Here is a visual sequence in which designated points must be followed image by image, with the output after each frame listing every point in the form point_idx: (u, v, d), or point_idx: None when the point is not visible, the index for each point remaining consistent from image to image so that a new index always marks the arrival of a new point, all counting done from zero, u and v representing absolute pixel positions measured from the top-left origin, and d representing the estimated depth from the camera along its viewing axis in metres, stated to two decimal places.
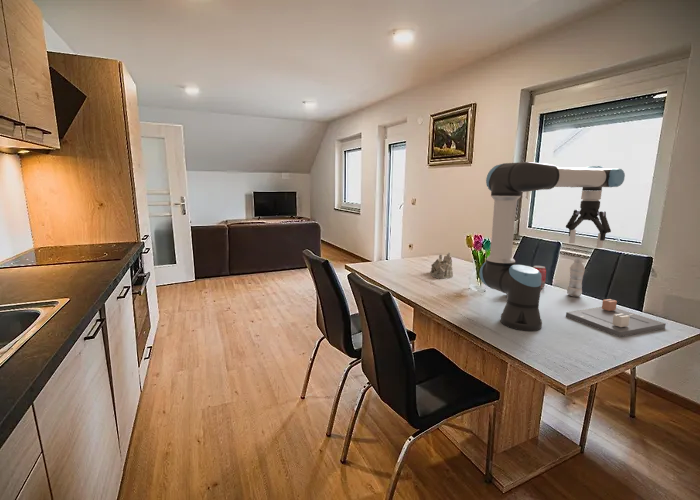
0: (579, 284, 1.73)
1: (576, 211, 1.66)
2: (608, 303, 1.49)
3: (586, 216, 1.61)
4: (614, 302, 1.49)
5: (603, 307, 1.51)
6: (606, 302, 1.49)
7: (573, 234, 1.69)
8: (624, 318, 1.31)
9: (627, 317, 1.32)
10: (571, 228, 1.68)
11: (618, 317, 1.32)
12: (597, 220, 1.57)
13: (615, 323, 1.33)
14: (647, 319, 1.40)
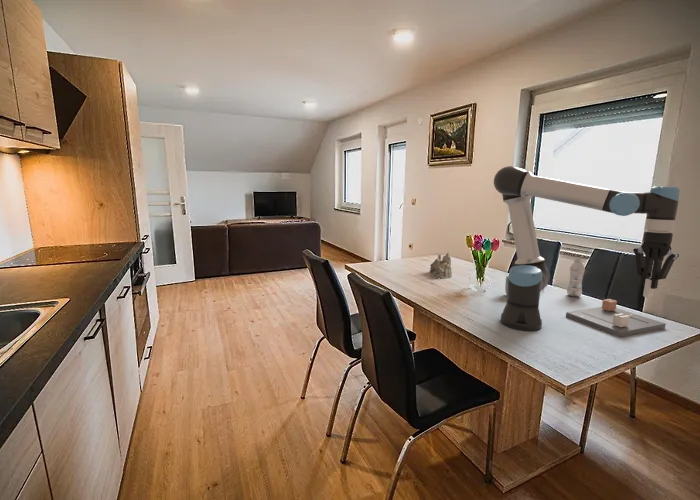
0: (579, 284, 1.73)
1: (637, 249, 1.25)
2: (608, 303, 1.49)
3: (652, 252, 1.21)
4: (614, 302, 1.49)
5: (603, 307, 1.51)
6: (606, 302, 1.49)
7: None
8: (624, 318, 1.31)
9: (627, 317, 1.32)
10: (646, 275, 1.23)
11: (618, 317, 1.32)
12: (660, 261, 1.20)
13: (615, 323, 1.33)
14: (647, 319, 1.40)
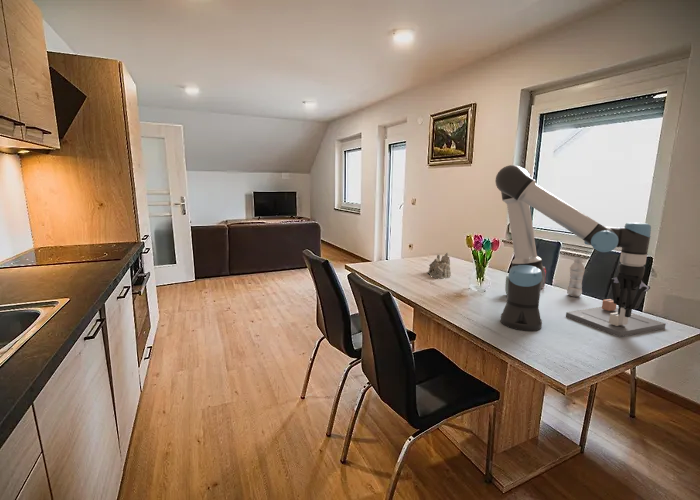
0: (579, 284, 1.73)
1: (613, 279, 1.34)
2: (608, 303, 1.49)
3: (626, 283, 1.29)
4: None
5: (603, 307, 1.51)
6: (606, 302, 1.49)
7: None
8: None
9: None
10: (621, 304, 1.31)
11: (614, 316, 1.33)
12: (633, 292, 1.28)
13: (611, 322, 1.34)
14: (647, 319, 1.40)
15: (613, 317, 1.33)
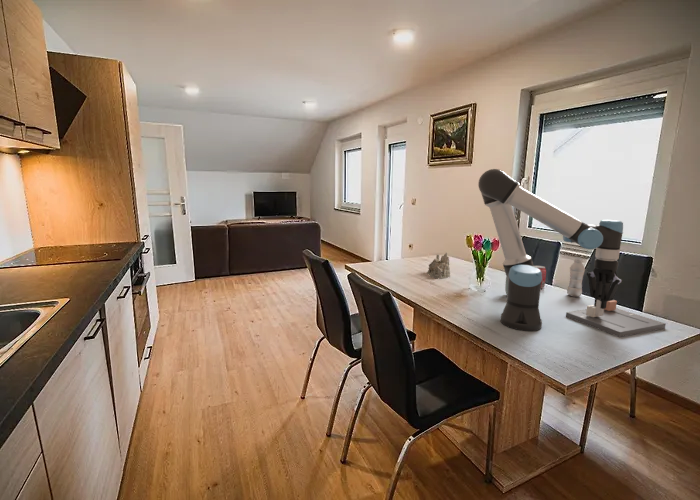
0: (579, 284, 1.73)
1: (590, 273, 1.43)
2: (608, 303, 1.49)
3: (601, 277, 1.38)
4: (614, 302, 1.49)
5: None
6: None
7: None
8: None
9: None
10: (597, 296, 1.40)
11: (591, 308, 1.42)
12: (608, 285, 1.37)
13: (588, 314, 1.43)
14: (647, 319, 1.40)
15: (590, 309, 1.42)
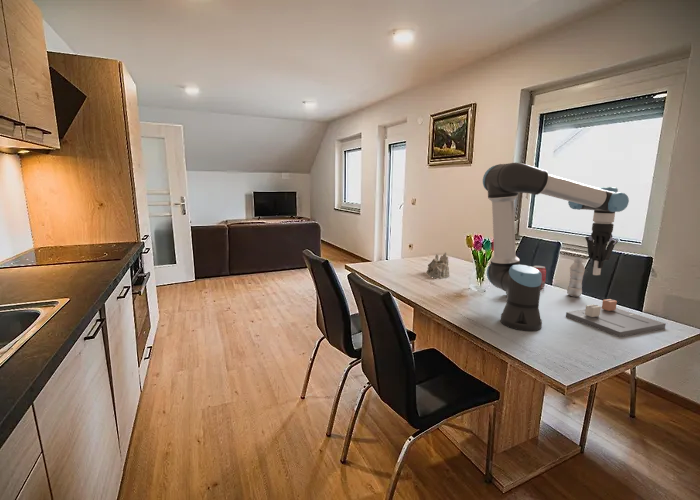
0: (579, 284, 1.73)
1: (588, 237, 1.57)
2: (608, 303, 1.49)
3: (598, 239, 1.52)
4: (614, 302, 1.49)
5: (603, 307, 1.51)
6: (606, 302, 1.49)
7: None
8: (595, 308, 1.41)
9: (598, 307, 1.42)
10: (595, 257, 1.54)
11: (590, 308, 1.42)
12: (604, 246, 1.51)
13: (587, 313, 1.43)
14: (647, 319, 1.40)
15: (589, 309, 1.42)
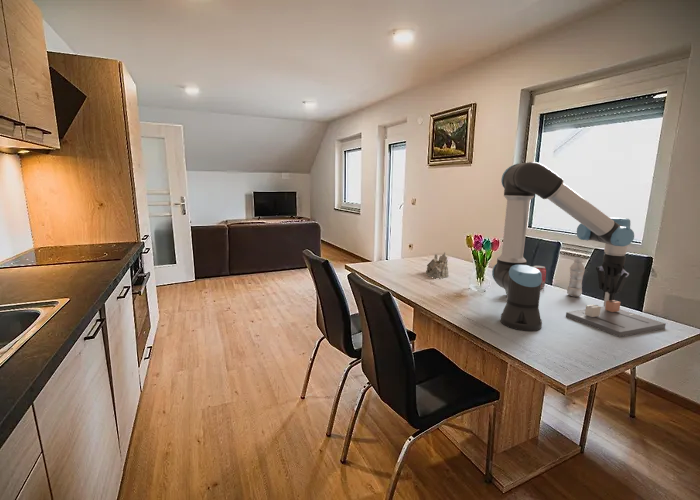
0: (579, 284, 1.73)
1: (599, 268, 1.53)
2: (612, 304, 1.47)
3: (610, 271, 1.48)
4: (618, 303, 1.48)
5: (606, 308, 1.49)
6: (610, 303, 1.48)
7: None
8: (595, 308, 1.41)
9: (598, 307, 1.42)
10: (606, 289, 1.50)
11: (590, 308, 1.42)
12: (616, 278, 1.47)
13: (587, 313, 1.43)
14: (647, 319, 1.40)
15: (589, 309, 1.42)
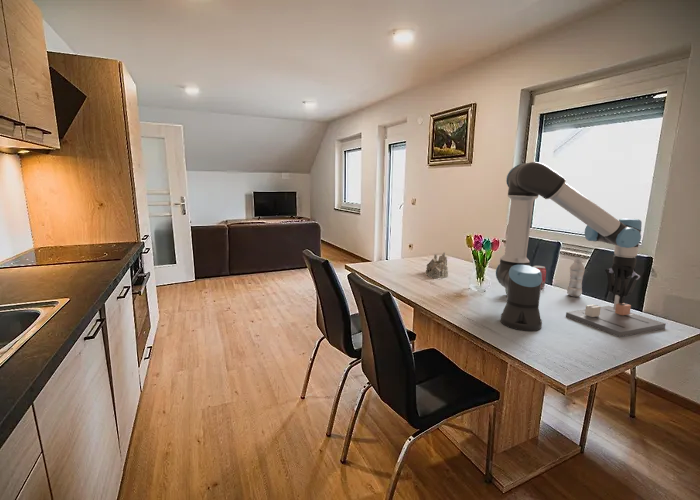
0: (579, 284, 1.73)
1: (608, 270, 1.49)
2: (622, 307, 1.43)
3: (620, 273, 1.44)
4: (628, 306, 1.44)
5: (616, 311, 1.45)
6: (620, 306, 1.44)
7: None
8: (595, 308, 1.41)
9: (598, 307, 1.42)
10: (616, 292, 1.46)
11: (590, 308, 1.42)
12: (626, 281, 1.43)
13: (587, 313, 1.43)
14: (647, 319, 1.40)
15: (589, 309, 1.42)
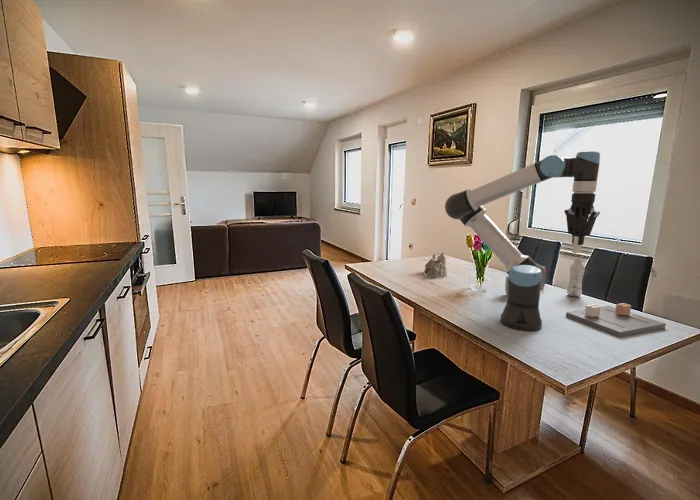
0: (579, 284, 1.73)
1: (567, 210, 1.39)
2: (622, 307, 1.43)
3: (578, 212, 1.34)
4: (628, 306, 1.44)
5: (617, 311, 1.45)
6: (620, 306, 1.44)
7: None
8: (595, 308, 1.41)
9: (598, 307, 1.42)
10: (574, 233, 1.36)
11: (590, 308, 1.42)
12: (585, 220, 1.33)
13: (587, 313, 1.43)
14: (647, 319, 1.40)
15: (589, 309, 1.42)
